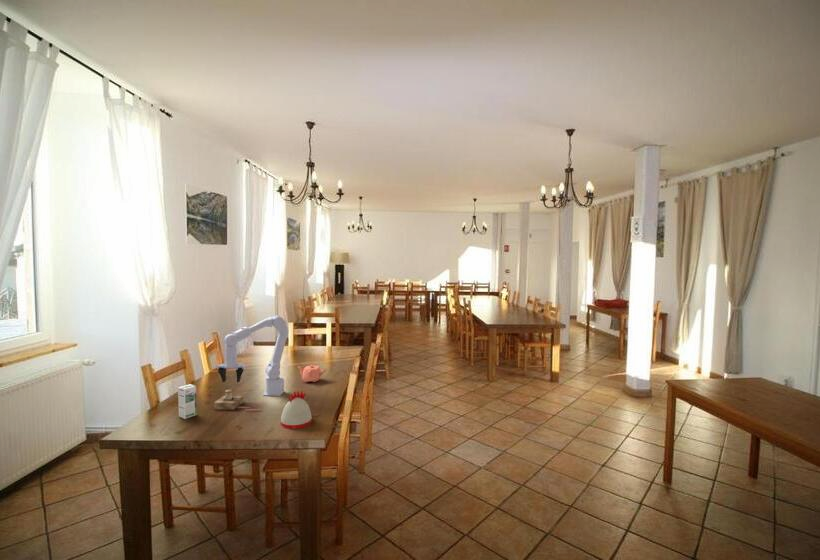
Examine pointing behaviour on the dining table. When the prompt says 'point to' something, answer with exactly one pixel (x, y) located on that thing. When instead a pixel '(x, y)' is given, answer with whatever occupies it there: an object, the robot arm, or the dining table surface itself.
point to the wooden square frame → (228, 403)
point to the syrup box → (187, 401)
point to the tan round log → (228, 395)
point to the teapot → (311, 373)
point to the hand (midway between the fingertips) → (231, 381)
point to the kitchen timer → (296, 412)
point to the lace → (248, 409)
